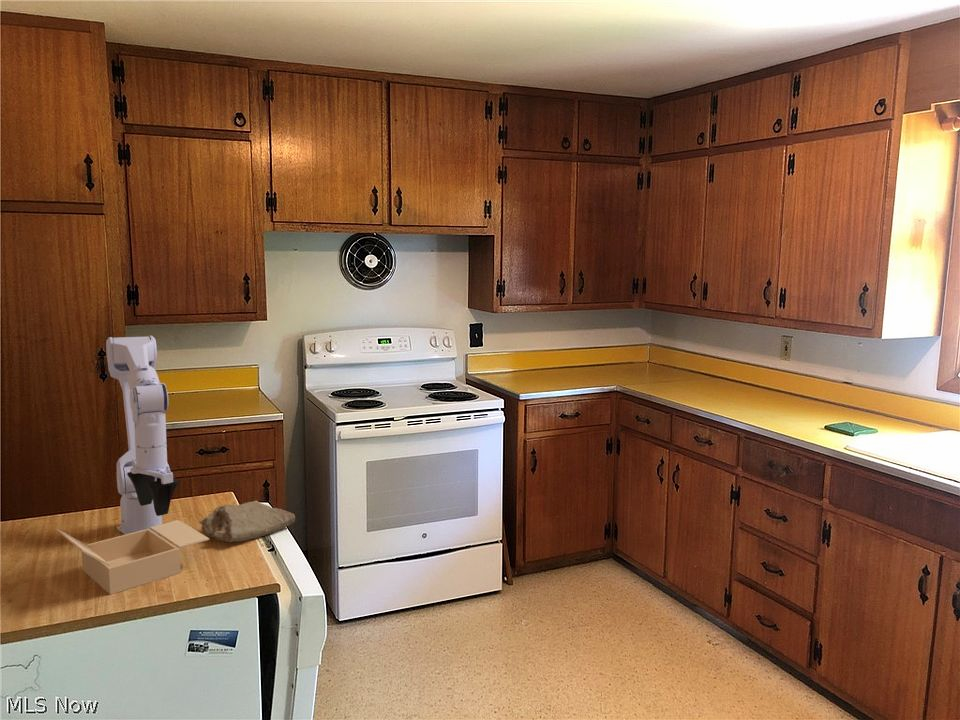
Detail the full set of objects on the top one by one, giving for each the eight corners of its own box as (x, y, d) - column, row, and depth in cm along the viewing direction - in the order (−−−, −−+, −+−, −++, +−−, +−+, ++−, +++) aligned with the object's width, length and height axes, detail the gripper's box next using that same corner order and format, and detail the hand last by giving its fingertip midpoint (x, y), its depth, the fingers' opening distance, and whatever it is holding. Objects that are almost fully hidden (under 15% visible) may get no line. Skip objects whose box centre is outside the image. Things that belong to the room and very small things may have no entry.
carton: (82, 570, 143) (81, 544, 143) (179, 543, 157) (178, 519, 157) (110, 594, 134) (108, 567, 133) (210, 563, 148) (209, 538, 147)
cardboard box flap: (82, 542, 143) (81, 544, 142) (56, 528, 139) (55, 529, 139) (109, 564, 133) (108, 566, 133) (82, 549, 130) (81, 551, 130)
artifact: (187, 537, 163) (226, 558, 154) (184, 506, 161) (223, 526, 152) (257, 508, 177) (297, 527, 168) (255, 480, 175) (295, 497, 166)
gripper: (115, 440, 148) (119, 504, 150) (146, 455, 138) (149, 524, 140) (150, 434, 153) (153, 496, 155) (182, 449, 143) (184, 515, 146)
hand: (153, 509), depth 148 cm, fingers open, 7 cm apart
